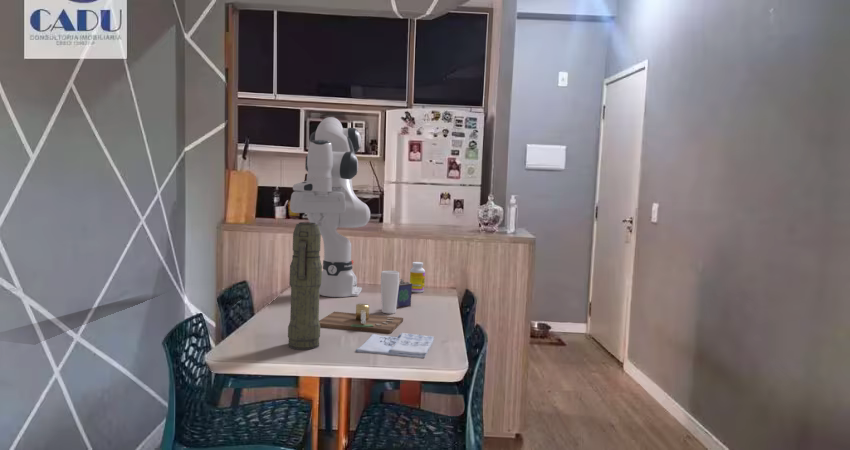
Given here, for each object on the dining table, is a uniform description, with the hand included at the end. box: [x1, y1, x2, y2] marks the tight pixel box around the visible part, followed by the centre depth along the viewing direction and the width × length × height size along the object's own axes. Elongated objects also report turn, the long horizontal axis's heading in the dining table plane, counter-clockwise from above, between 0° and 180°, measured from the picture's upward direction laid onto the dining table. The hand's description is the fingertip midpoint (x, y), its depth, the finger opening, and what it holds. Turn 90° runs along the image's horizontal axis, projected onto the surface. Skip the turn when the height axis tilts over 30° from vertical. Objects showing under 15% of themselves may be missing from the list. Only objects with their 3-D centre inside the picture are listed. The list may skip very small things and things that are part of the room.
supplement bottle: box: [409, 261, 426, 294], centre depth 248 cm, size 7×7×13 cm
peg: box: [355, 303, 370, 324], centre depth 185 cm, size 11×4×5 cm, turn 8°
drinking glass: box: [380, 270, 401, 315], centre depth 205 cm, size 7×7×15 cm
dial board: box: [319, 311, 404, 334], centre depth 187 cm, size 18×25×2 cm
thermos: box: [287, 221, 323, 351], centre depth 159 cm, size 9×12×35 cm
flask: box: [396, 278, 413, 309], centre depth 216 cm, size 9×3×11 cm, turn 134°
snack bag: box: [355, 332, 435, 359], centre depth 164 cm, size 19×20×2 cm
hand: (318, 225), depth 197 cm, fingers closed
